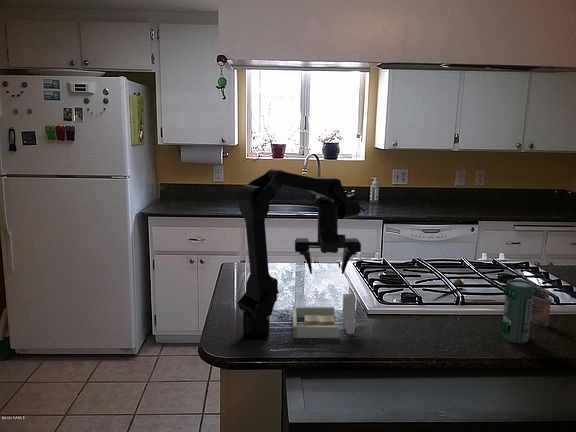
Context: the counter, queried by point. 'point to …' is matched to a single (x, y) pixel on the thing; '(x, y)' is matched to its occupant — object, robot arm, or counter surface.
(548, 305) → the red printed box
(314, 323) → the chip
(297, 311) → the green u-shaped frame
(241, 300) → the robot arm
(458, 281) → the primitive tool
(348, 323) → the grey stepped block
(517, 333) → the can
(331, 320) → the chip
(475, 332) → the counter surface
